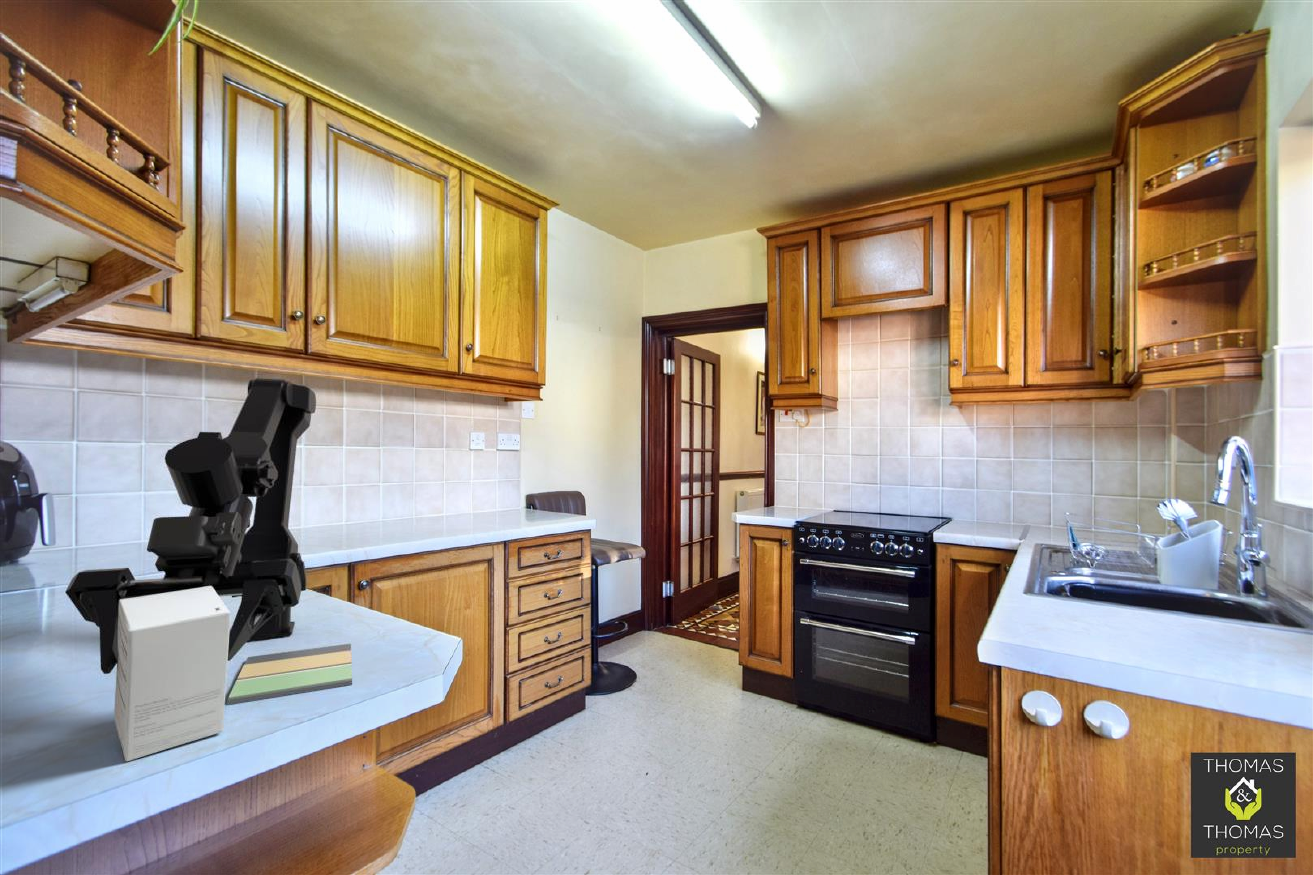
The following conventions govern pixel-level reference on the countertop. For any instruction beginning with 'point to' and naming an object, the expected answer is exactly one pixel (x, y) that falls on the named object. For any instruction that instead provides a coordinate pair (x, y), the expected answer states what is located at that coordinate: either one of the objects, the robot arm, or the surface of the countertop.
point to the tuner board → (292, 673)
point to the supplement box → (170, 669)
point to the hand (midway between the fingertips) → (167, 665)
